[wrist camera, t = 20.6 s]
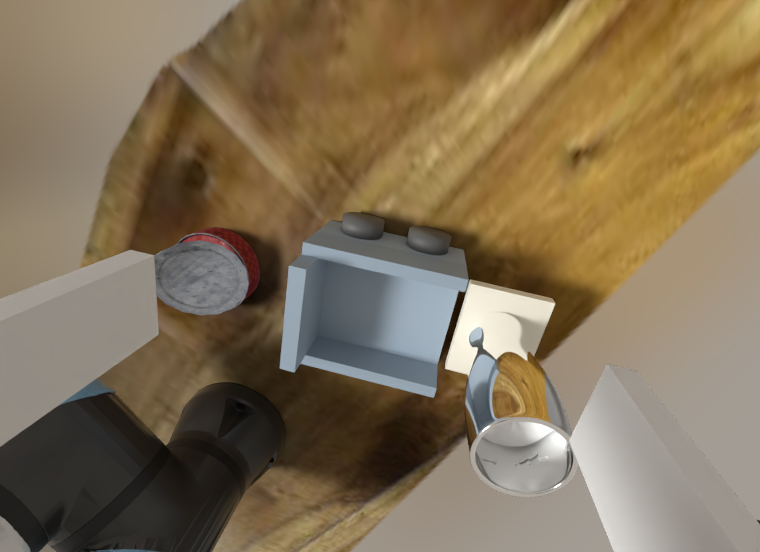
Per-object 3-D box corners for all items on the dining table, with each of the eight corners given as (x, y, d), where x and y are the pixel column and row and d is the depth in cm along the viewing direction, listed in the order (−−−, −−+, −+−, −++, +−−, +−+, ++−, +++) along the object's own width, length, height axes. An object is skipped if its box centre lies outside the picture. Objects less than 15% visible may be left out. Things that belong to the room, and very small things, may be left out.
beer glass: (548, 342, 37) (608, 469, 23) (492, 380, 39) (515, 515, 25) (500, 293, 36) (531, 395, 22) (446, 335, 38) (443, 451, 24)
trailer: (316, 331, 47) (277, 392, 36) (333, 206, 41) (292, 233, 30) (501, 377, 45) (519, 456, 34) (547, 253, 39) (588, 300, 28)
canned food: (245, 218, 49) (237, 214, 39) (272, 290, 51) (271, 303, 41) (153, 245, 46) (121, 248, 37) (185, 319, 48) (162, 341, 39)
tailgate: (445, 368, 40) (521, 388, 39) (470, 283, 36) (555, 303, 35) (445, 360, 41) (518, 379, 40) (469, 278, 37) (551, 297, 36)
